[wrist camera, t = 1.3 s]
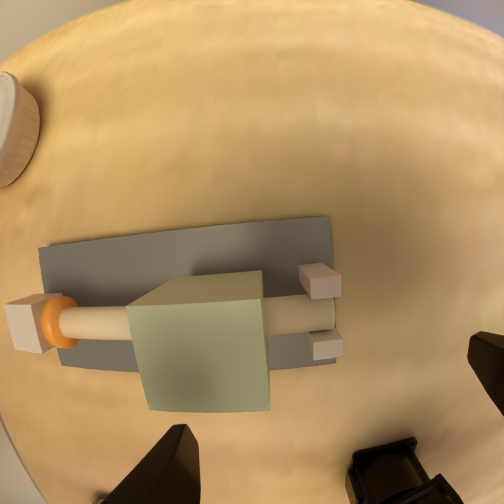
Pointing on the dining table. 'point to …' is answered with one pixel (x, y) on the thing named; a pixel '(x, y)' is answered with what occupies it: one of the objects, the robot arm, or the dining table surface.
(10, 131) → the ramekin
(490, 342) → the robot arm
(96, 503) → the grey rounded oval lump
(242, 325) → the matte sage green cube
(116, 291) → the cord board
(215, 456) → the dining table surface
